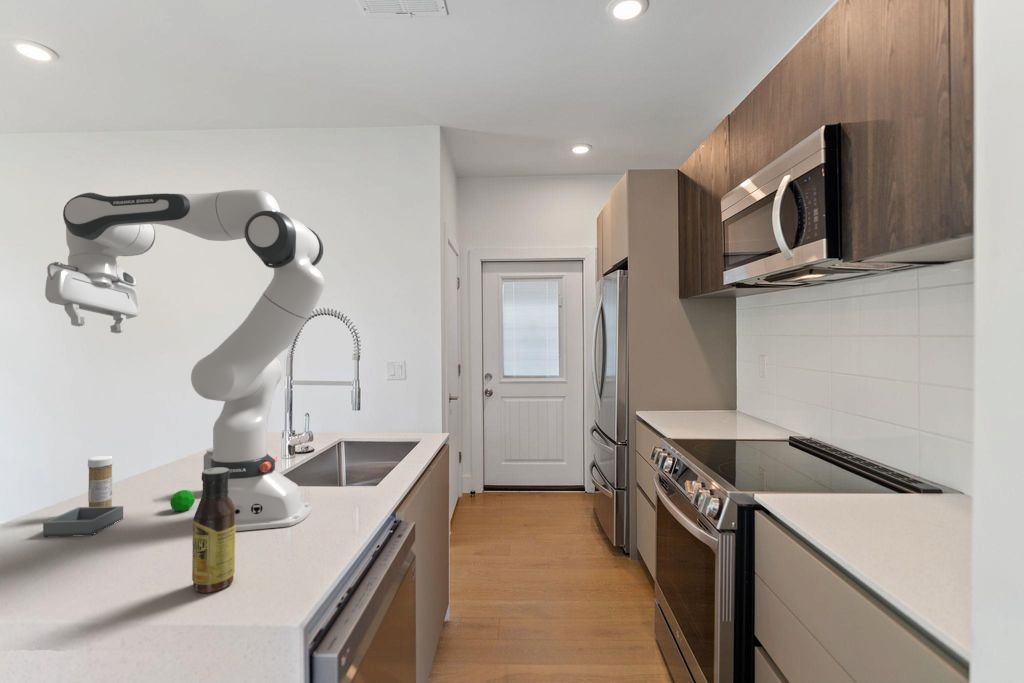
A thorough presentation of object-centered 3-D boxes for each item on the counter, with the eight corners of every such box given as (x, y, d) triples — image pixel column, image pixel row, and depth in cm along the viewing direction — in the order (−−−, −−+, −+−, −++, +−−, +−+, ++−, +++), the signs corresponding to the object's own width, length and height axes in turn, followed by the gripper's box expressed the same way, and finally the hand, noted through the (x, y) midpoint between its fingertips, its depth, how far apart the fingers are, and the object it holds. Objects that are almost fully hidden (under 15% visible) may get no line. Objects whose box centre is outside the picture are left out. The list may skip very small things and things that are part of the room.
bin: (123, 519, 115) (123, 506, 115) (92, 535, 106) (92, 521, 106) (78, 520, 114) (78, 507, 114) (43, 536, 105) (43, 522, 105)
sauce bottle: (188, 585, 85) (188, 469, 85) (228, 573, 89) (229, 462, 89) (197, 600, 80) (198, 476, 80) (240, 586, 85) (240, 469, 85)
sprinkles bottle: (93, 511, 120) (93, 455, 120) (116, 509, 122) (116, 454, 121) (83, 517, 116) (83, 460, 116) (107, 516, 117) (107, 458, 117)
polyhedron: (166, 514, 118) (166, 494, 118) (175, 507, 123) (175, 488, 123) (189, 513, 119) (189, 493, 119) (198, 506, 124) (198, 487, 124)
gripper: (60, 255, 107) (64, 316, 105) (142, 281, 127) (147, 333, 125) (34, 263, 108) (38, 324, 105) (120, 287, 128) (125, 339, 125)
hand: (98, 329), depth 115 cm, fingers open, 8 cm apart
